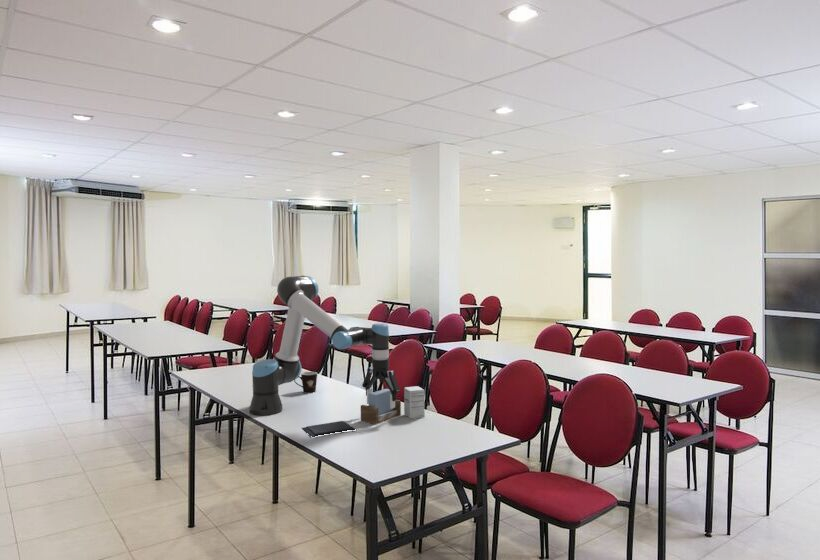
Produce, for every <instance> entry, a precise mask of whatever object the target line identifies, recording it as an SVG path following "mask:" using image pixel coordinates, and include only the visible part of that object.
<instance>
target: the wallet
mask: <svg viewBox="0 0 820 560" xmlns="http://www.w3.org/2000/svg"><path fill="white" fill-rule="evenodd" d="M301 428H302V429H303V430H304V431H305V432H306V433H308V434H309V435H310V436H312V437H315V436H318V435H324V434H330V433H335V432H342V431H347V430H355V429H356V428H355V427H353V426H351V424H349V423H348V422H346V421H345V420H339V421H332V422H328V423H327V422H326V423H321V424H314V425H308V426H307V425H306V426H305V427H301ZM302 429H301V430H302ZM303 430H302V431H303ZM304 431H303V432H304ZM305 432H304V433H305ZM306 433H305V434H306ZM309 435H308V436H309ZM310 436H309V437H310Z"/></svg>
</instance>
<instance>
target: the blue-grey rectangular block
mask: <svg viewBox="0 0 820 560" xmlns="http://www.w3.org/2000/svg"><path fill="white" fill-rule="evenodd" d="M390 394H391V391H390V390H389V388H384V389H381V390H377V391H372V393H370V394H368V396H369V404H368V406H371V407H376V408H378V416H379V415H382V414H385V413H388V412H391V411H393V408H392V409H390Z"/></svg>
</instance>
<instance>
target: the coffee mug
mask: <svg viewBox="0 0 820 560" xmlns="http://www.w3.org/2000/svg"><path fill="white" fill-rule="evenodd" d="M300 375H301V376H299V377H298V378H299V379H300V380H301V383H302V384H299V383H297V382H296V379H295V380H293V382H294V383H295V384H296V385H297V386H298V387H301V388H302V391H303V393H304V394H313V392H314V393H316V392H315V391H317V390H316V389H317V381H318V372H316V371H305V372H304V371H303V372H301V373H300Z"/></svg>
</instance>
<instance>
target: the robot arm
mask: <svg viewBox="0 0 820 560" xmlns="http://www.w3.org/2000/svg"><path fill="white" fill-rule="evenodd" d="M319 289H320V288H319V284H318V282H317V280H316V279H314V278H313V277H312V276H310V275H309V276H308V275H298V276H286V277H284V278H282V279H281V280H280V281H279V283H278V285H277V288H276V290H277V291H276V292H277V296H278V298H279V299H280V301H281V302H282V303H283V304H284V305H286V306H287V307H288V308H287V309H288V310H287V313H286V314H287V315H286V319H285V323H284V328H283V333H282V337H281V338H282V339H281V341H280V342H281V343H280V347H279V351H278V352H276V353H275V356H274V359H273V358H271V359H270V358H269V359H262V360H259V361H255V363H253V365H252V372H251V374H252V397H251V401H250V405H249V407H248V409H249V410H248V411H249V414H251V415H254V416H270V415H275V414H279V413H281V412H282V411H283V403H282V400H281V398H280V395H279V386H280V385H284V384H288V383H292V382H294V380H295V381H296V380H297V379H298V378H299V377H300V375H301V373H302V367H303V366H302V364H301V361H300V356H299V355H298V351H299V346H300V342H301V338H302V333H303V328H304V325H305V320H308V321H309V322H310V323H311V324H313V325H314V326H315V327H317V329H318V330H320V331H321V332H323V333H324V334H325V335H326V336H327V337H329V338H330V339H331V342H332V343H331V344H332V345H333V347H334V348H336V349H337V350H345V349H348V348H351V347H355V346H360V345H369V346H370V345H371V357H372V359H371V366H370V367H367V370H366V375H365V378H364V380H363V382H362V385H361V386H362V388H364V389H365V396H366V404H367V405H369V396H368V394H370V393H373V389H372V388H373V387H372V386H373V385H374V384H375V382H376V381H377V380H380V381H383V382H384V383H385V384H386V387H387V389H389V390H390V391H391V394H390V409H392V408H395V401H396V400H397V394H399V393H400V392H401V390H400V386H399V383H398V381H397V378H396V376H395V370H389V367H390V359H389V358H390V349H389V348H390V345H389V343H390V339H389V338H390V333H389V332H390V331H389V324H387V323H380V322H379V323H373V324H372V325H371V327H361V326H351V327H349V329H348V328H346V327H345V326H344V325H342V324H341V323H340V322H338V321H337V320H336V319H335V318H334V317H332V315H330V314H329V313H327V312H326V311H325V310H324V309H323V308H321V307H320V306H319V305H317V304H316V303H315V302H314V301H313V300H314V299H316V298H317V297H318V294H319ZM305 318H306V319H305Z"/></svg>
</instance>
